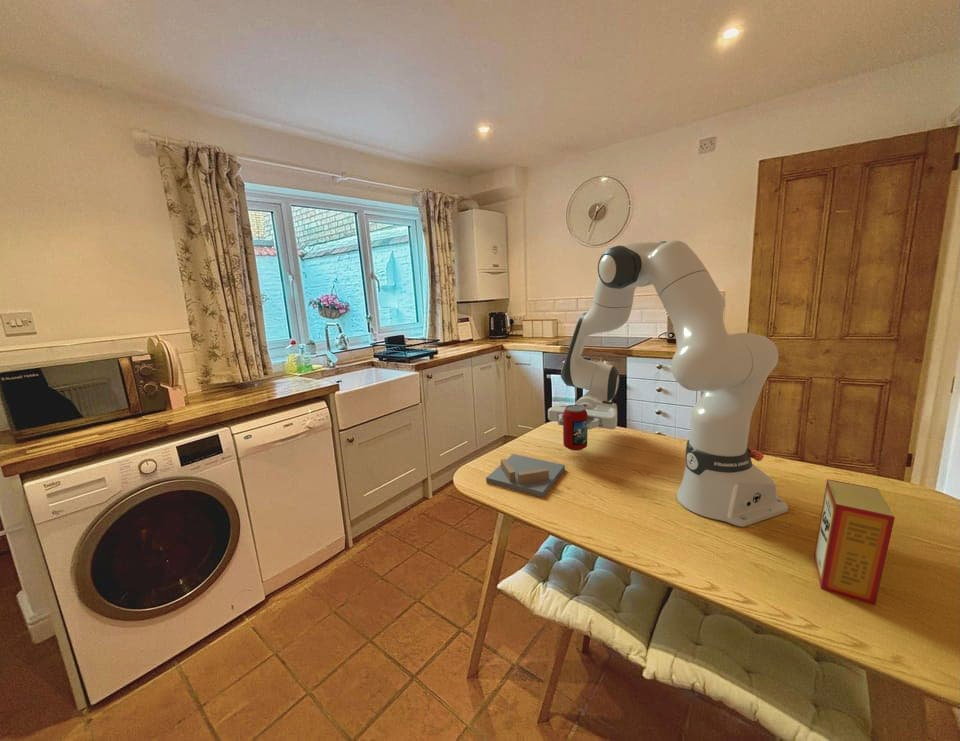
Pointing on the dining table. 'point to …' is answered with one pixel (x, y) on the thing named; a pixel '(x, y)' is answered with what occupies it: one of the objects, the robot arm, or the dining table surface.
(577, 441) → the beverage can
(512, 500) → the dining table surface
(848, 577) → the baking soda box
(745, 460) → the robot arm
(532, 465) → the v stop plate
